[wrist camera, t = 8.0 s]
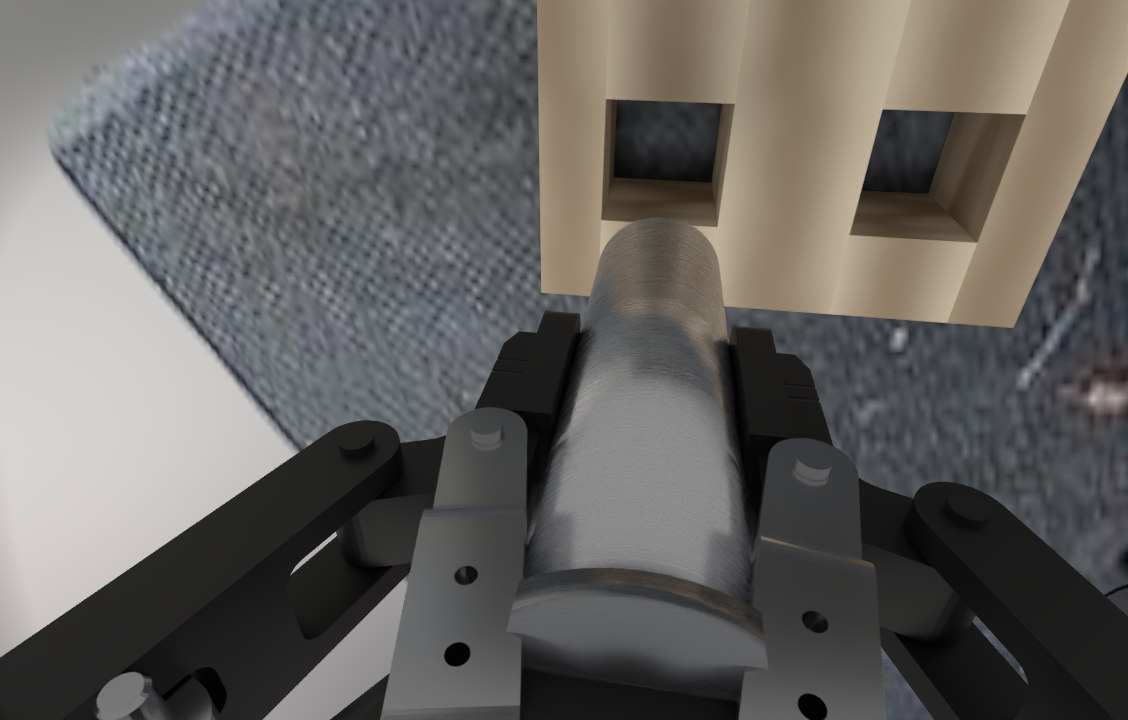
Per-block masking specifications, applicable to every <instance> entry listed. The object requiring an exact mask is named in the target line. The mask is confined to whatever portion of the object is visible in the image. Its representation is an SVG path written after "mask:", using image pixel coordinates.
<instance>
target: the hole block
mask: <svg viewBox="0 0 1128 720" xmlns="http://www.w3.org/2000/svg"><path fill="white" fill-rule="evenodd" d="M537 32H538V97H539V162H540V227H541V292H542V293H555V294H568V295H582V296H590V294H591V290H592V286H593V283H594V279H595V275H596V271H597V267H598V264H599V260H600V256H601V254H602V251H603V249H604V248H605V246H606V244H607V243H608V241H609V240H610V239H611V238H612V237H613V236H614V235H615V234H616V233H617V232H618V231H619V230H621V229H622V228H623V227H625V226H627V225H629V224H630V223H633V222H635V221H638V220H641V219H645V218H652V217H667V218H673V219H677V220H681V221H683V222H686V223H688V224H690V225H691V226H693V227H695V228H696V229H698V230H699V231H700V232H701V233H702V234H703V235H704V236H705V237H706V238H707V239H708V240H709V241H710V243H711V244H712V246H713V248H714V250H715V252H716V254H717V257H718V261H719V267H720V275H721V284H722V292H723V301H724V306H728V307H741V308H755V309H768V310H781V311H794V312H808V313H821V314H834V315H848V316H861V317H874V318H888V319H901V320H914V321H927V322H941V323H954V324H967V325H981V326H994V327H1007V328H1013V327H1014V325H1015V323H1016V321H1017V318H1018V316H1019V314H1020V312H1021V309H1022V307H1023V305H1024V303H1025V301H1026V298H1027V296H1028V294H1029V292H1030V289H1031V287H1032V285H1033V283H1034V280H1035V278H1036V276H1037V274H1038V271H1039V269H1040V267H1041V265H1042V263H1043V260H1044V258H1045V256H1046V254H1047V251H1048V249H1049V247H1050V245H1051V242H1052V240H1053V238H1054V236H1055V234H1056V231H1057V229H1058V227H1059V225H1060V222H1061V220H1062V218H1063V216H1064V213H1065V211H1066V209H1067V207H1068V204H1069V202H1070V200H1071V198H1072V196H1073V193H1074V191H1075V189H1076V187H1077V184H1078V182H1079V180H1080V178H1081V175H1082V173H1083V171H1084V169H1085V167H1086V164H1087V162H1088V160H1089V158H1090V155H1091V153H1092V151H1093V149H1094V146H1095V144H1096V142H1097V140H1098V138H1099V135H1100V133H1101V131H1102V129H1103V126H1104V124H1105V122H1106V120H1107V117H1108V115H1109V113H1110V111H1111V108H1112V106H1113V104H1114V102H1115V100H1116V97H1117V95H1118V93H1119V91H1120V88H1121V86H1122V84H1123V82H1124V79H1125V77H1126V75H1127V73H1128V0H537ZM617 100H643V101H671V102H698V103H722V108H721V115H720V123H719V130H718V138H717V146H716V153H715V161H714V168H713V176H712V183H710V182H691V181H671V180H652V179H632V178H614V160H615V139H616V118H617ZM883 109H891V110H918V111H946V112H954V115H953V118H952V121H951V125H950V128H949V131H948V134H947V137H946V140H945V143H944V146H943V149H942V152H941V156H940V159H939V162H938V165H937V168H936V171H935V174H934V177H933V180H932V184H931V187H930V190H929V193H928V194H923V193H904V192H884V191H865V190H861V189H862V186H863V182H864V178H865V174H866V170H867V167H868V163H869V159H870V155H871V151H872V148H873V144H874V140H875V136H876V132H877V129H878V125H879V121H880V117H881V113H882V110H883Z"/></svg>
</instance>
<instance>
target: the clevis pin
mask: <svg viewBox="0 0 1128 720" xmlns="http://www.w3.org/2000/svg"><path fill="white" fill-rule="evenodd" d="M752 557H753V544H752V535H751V527H750V518H749V510H748V502H747V493H746V485H745V477H744V468H743V460H742V452H741V444H740V435H739V427H738V418H737V410H736V402H735V393H734V385H733V377H732V368H731V360H730V351H729V342H728V334H727V326H726V317H725V309H724V301H723V292H722V284H721V275H720V267H719V261H718V257H717V254H716V252H715V250H714V248H713V246H712V244H711V243H710V241H709V240H708V239H707V238H706V237H705V236H704V235H703V234H702V233H701V232H700V231H699V230H698V229H696V228H695V227H693V226H691V225H690V224H688V223H686V222H683V221H681V220H677V219H673V218H667V217H652V218H645V219H641V220H638V221H635V222H633V223H630V224H629V225H627V226H625V227H623V228H622V229H621V230H619V231H618V232H617V233H616V234H615V235H614V236H613V237H612V238H611V239H610V240H609V241H608V243H607V244H606V246H605V248H604V249H603V251H602V254H601V256H600V260H599V264H598V267H597V271H596V275H595V279H594V283H593V286H592V290H591V294H590V298H589V302H588V305H587V309H586V313H585V317H584V321H583V324H582V328H581V332H580V336H579V340H578V344H577V347H576V351H575V355H574V359H573V363H572V366H571V370H570V374H569V378H568V382H567V386H566V389H565V393H564V397H563V401H562V405H561V408H560V412H559V416H558V420H557V424H556V427H555V431H554V435H553V439H552V443H551V446H550V450H549V454H548V457H547V461H546V465H545V469H544V473H543V477H542V480H541V484H540V488H539V492H538V496H537V499H536V503H535V507H534V511H533V515H532V518H531V522H530V526H529V530H528V534H527V554H526V579H523V580H520V581H519V583H518V587H517V591H516V595H515V599H514V603H513V607H512V611H511V614H510V618H509V622H508V626H507V630H506V632H513V633H520V634H522V652H523V669H524V670H531V671H537V672H544V673H551V674H557V675H564V676H571V677H577V678H584V679H590V680H597V681H604V682H610V683H617V684H623V685H630V686H637V687H643V688H650V689H657V690H663V691H670V692H676V693H683V694H690V695H696V696H703V697H709V698H716V699H723V700H729V701H736V700H737V694H738V691H739V687H740V683H741V680H742V676H743V672H744V669H745V666H749V667H756V668H763V669H768V662H767V653H766V645H765V637H764V629H763V621H762V613H761V612H759V611H757V610H756V609H754V608H752V607H751V606H749V605H748V595H749V585H750V575H751V563H752Z"/></svg>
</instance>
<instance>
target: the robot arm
mask: <svg viewBox="0 0 1128 720" xmlns="http://www.w3.org/2000/svg"><path fill="white" fill-rule="evenodd" d="M579 336H580V314H579V313H567V312H554V311H545V313H544V315H543V318H542V321H541V323H540V326H539V329H538V331H537V333H532V332H520V331H519V332H518V333H517V334H515V335H514V336H513V337H512V338H510V339H509V340H508V341H506V342H505V343H504V345H503V347H502V349H501V351H500V354H499V356H498V360H496V363H495V365H494V367H493V370H492V372H491V374H490V376H489V378H488V380H487V383H486V385H485V387H484V389H483V392H482V394H481V396H480V398H479V401H478V403H477V405H476V407H475V409H474V410H471V411H468V412H466V413H464V414H462V415H460V416H459V417H457V418H456V419H455V420H454V421H453V422H452V423H451V424H450V426H449V427H448V430H447V434H446V435H445V436H443V437H439V438H435V439H429V440H422V441H414V442H405V443H400V439H399V435H398V433H397V432H396V430H395V429H394V428H393V427H391V426H390V425H388V424H385V423H383V422H378V421H370V420H366V421H356V422H351V423H347V424H344V425H341V426H339V427H337V428H335V429H333V430H331V431H330V432H328V433H327V434H325V435H324V436H322V437H321V438H319V439H318V440H317V441H315V442H314V443H312V444H311V445H309V446H308V447H306V448H305V449H303V450H302V451H301V452H299V453H298V454H296V455H295V456H293V457H292V458H290V459H289V460H287V461H286V462H285V463H283V464H282V465H280V466H279V467H277V468H276V469H274V470H273V471H271V472H270V473H268V474H267V475H266V476H264V477H263V478H261V479H260V480H258V481H257V482H255V483H254V484H252V485H251V486H250V487H248V488H247V489H245V490H244V491H242V492H241V493H239V494H238V495H236V496H235V497H234V498H232V499H231V500H229V501H228V502H226V503H225V504H224V505H222V506H220V507H219V508H218V509H216V510H215V511H213V512H212V513H210V514H209V515H207V516H206V517H205V518H203V519H202V520H200V521H199V522H197V523H196V524H194V525H193V526H191V527H190V528H188V529H187V530H185V531H184V532H183V533H181V534H180V535H178V536H177V537H175V538H174V539H172V540H171V541H169V542H168V543H167V544H165V545H164V546H162V547H161V548H159V549H158V550H156V551H155V552H153V553H152V554H150V555H149V556H148V557H146V558H145V559H143V560H142V561H140V562H139V563H137V564H136V565H134V566H133V567H132V568H130V569H129V570H127V571H126V572H124V573H123V574H121V575H120V576H119V577H117V578H116V579H114V580H113V581H111V582H110V583H109V584H107V585H105V586H104V587H102V588H101V589H100V590H98V591H97V592H95V593H94V594H92V595H91V596H89V597H88V598H86V599H85V600H83V601H82V602H81V603H79V604H78V605H76V606H75V607H73V608H72V609H70V610H69V611H68V612H66V613H65V614H63V615H62V616H60V617H59V618H57V619H56V620H54V621H53V622H51V623H50V624H49V625H47V626H46V627H44V628H43V629H41V630H40V631H39V632H37V633H36V634H34V635H32V636H31V637H30V638H28V639H27V640H25V641H24V642H22V643H21V644H20V645H18V646H16V647H15V648H14V649H12V650H11V651H9V652H8V653H6V654H5V655H3V656H2V657H0V720H263V719H264V718H265V717H266V715H268V714H269V713H270V712H271V710H273V709H274V708H275V707H276V706H277V705H278V704H279V703H280V702H281V701H282V699H284V697H286V696H287V695H288V694H289V693H290V691H292V690H293V689H294V688H295V686H296V685H298V684H299V683H300V681H302V680H303V679H304V678H305V677H306V676H307V675H308V673H310V672H311V671H312V670H313V669H314V668H315V666H316V665H317V664H319V663H320V662H321V661H322V660H323V659H324V658H325V657H326V655H327V654H328V653H330V652H331V651H332V649H334V648H335V647H336V646H337V644H338V643H340V642H341V641H342V640H343V639H344V637H346V636H347V634H349V632H350V631H351V630H352V629H354V628H355V627H356V625H358V623H360V621H362V620H363V619H364V618H365V617H366V616H367V615H368V613H370V611H372V609H374V607H376V606H377V605H378V603H380V601H382V600H383V598H385V596H386V595H387V594H389V593H390V591H391V590H393V589H394V587H396V586H397V584H399V582H401V581H402V580H403V579H404V578H405V576H406V575H407V574H408V573H409V572H410V575H409V580H408V585H407V590H406V595H405V600H404V605H403V610H402V615H401V620H400V625H399V630H398V635H397V640H396V645H395V650H394V655H393V660H392V665H391V669H390V673H389V674H388V675H387V676H385V677H384V678H383V679H382V680H380V681H379V682H378V683H376V684H375V685H374V686H373V687H371V688H370V689H369V690H367V691H366V692H365V693H364V694H362V695H361V696H360V697H359V698H357V699H356V700H355V701H353V702H352V703H351V704H350V705H348V706H347V707H346V708H344V709H343V710H342V711H341V712H339V713H338V714H337V715H336V716H334V717H333V718H332V719H330V720H886V716H885V701H884V685H883V670H882V655H881V647H882V648H883V650H884V651H885V652H886V654H887V655H888V657H889V658H890V659H891V661H892V662H893V663H894V665H895V666H896V668H897V669H898V670H899V672H900V673H901V674H902V676H903V677H904V679H905V680H906V681H907V683H908V684H909V685H910V687H911V688H912V690H913V691H914V692H915V694H916V695H917V696H918V698H919V699H920V701H921V702H922V703H923V705H924V706H925V708H926V709H927V710H928V712H929V713H930V714H931V716H932V717H933V719H934V720H1128V588H1125V589H1123V590H1120V591H1117V592H1116V593H1114V594H1112V595H1110V596H1108V597H1106V596H1105V595H1103V594H1102V593H1101V592H1100V591H1099V590H1098V589H1097V588H1096V587H1094V586H1093V585H1092V584H1091V583H1090V582H1089V581H1088V580H1087V579H1085V578H1084V577H1083V576H1082V575H1081V574H1080V573H1079V572H1078V571H1076V570H1075V569H1074V568H1073V567H1072V566H1071V565H1070V564H1068V563H1067V562H1066V561H1065V560H1064V559H1063V558H1062V557H1061V556H1059V555H1058V554H1057V553H1056V552H1055V551H1054V550H1053V549H1052V548H1050V547H1049V546H1048V545H1047V544H1046V543H1045V542H1044V541H1043V540H1041V539H1040V538H1039V537H1038V536H1037V535H1036V534H1035V533H1034V532H1032V531H1031V530H1030V529H1029V528H1028V527H1027V526H1026V525H1025V524H1023V523H1022V522H1021V521H1020V520H1019V519H1018V518H1017V517H1016V516H1014V515H1013V514H1012V513H1011V512H1010V511H1009V510H1008V509H1007V508H1005V507H1004V506H1003V505H1002V504H1001V503H999V502H998V501H997V500H995V499H994V498H992V497H991V496H989V495H987V494H985V493H983V492H981V491H979V490H977V489H974V488H972V487H969V486H966V485H962V484H957V483H951V482H934V483H929V484H926V485H924V486H922V487H921V488H920V489H919V490H918V491H917V492H916V494H915V496H914V499H912V498H909V497H906V496H903V495H900V494H897V493H894V492H890V491H887V490H884V489H881V488H879V487H876V486H873V485H871V484H869V483H867V482H865V481H863V480H862V479H860V478H859V477H858V471H857V468H856V466H855V464H854V463H853V462H852V460H851V459H850V458H849V457H848V456H847V455H846V454H844V453H843V452H842V451H840V450H839V449H837V448H835V447H833V444H832V440H831V437H830V434H829V430H828V427H827V424H826V421H825V417H824V414H823V411H822V407H821V404H820V403H819V398H818V394H817V391H816V389H815V384H814V381H813V378H812V374H811V371H810V369H809V368H808V367H807V366H806V365H805V364H804V363H803V362H802V361H801V360H800V359H799V358H798V357H797V356H796V355H792V354H780V353H776V349H775V345H774V340H773V336H772V332H771V329H766V328H754V327H741V326H733V328H732V331H731V336H730V341H729V351H730V360H731V368H732V377H733V385H734V393H735V402H736V410H737V418H738V427H739V435H740V444H741V452H742V460H743V468H744V477H745V485H746V493H747V502H748V510H749V518H750V527H751V535H752V544H753V557H752V563H751V575H750V585H749V595H748V605H749V606H751V607H752V608H754V609H756V610H757V611H759V612H761V613H762V621H763V629H764V637H765V645H766V653H767V662H768V669H763V668H756V667H749V666H745V669H744V672H743V676H742V680H741V683H740V687H739V691H738V694H737V700H736V701H729V700H723V699H716V698H709V697H703V696H696V695H690V694H683V693H676V692H670V691H663V690H657V689H650V688H643V687H637V686H630V685H623V684H617V683H610V682H604V681H597V680H590V679H584V678H577V677H571V676H564V675H557V674H551V673H544V672H537V671H531V670H524V669H523V652H522V634H520V633H513V632H506V630H507V626H508V622H509V618H510V614H511V611H512V607H513V603H514V599H515V595H516V591H517V587H518V583H519V581H520V580H523V579H526V554H527V534H528V530H529V526H530V522H531V518H532V515H533V511H534V507H535V503H536V499H537V496H538V492H539V488H540V484H541V480H542V477H543V473H544V469H545V465H546V461H547V457H548V454H549V450H550V446H551V443H552V439H553V435H554V431H555V427H556V424H557V420H558V416H559V412H560V408H561V405H562V401H563V397H564V393H565V389H566V386H567V382H568V378H569V374H570V370H571V366H572V363H573V359H574V355H575V351H576V347H577V344H578V340H579ZM334 532H336V533H337V536H336V537H335V538H334V539H333V540H332V541H331V542H329V543H328V544H327V545H326V546H325V547H323V548H322V549H321V550H320V551H319V552H318V553H316V554H315V555H314V556H313V557H312V558H310V559H309V560H308V561H307V562H306V563H305V564H303V565H302V566H301V567H300V568H299V569H297V570H296V571H295V572H294V573H293V574H292V575H290V574H291V573H292V571H293V569H294V568H295V566H296V565H297V564H298V563H299V562H300V561H301V560H302V559H303V558H304V557H305V556H307V555H308V554H309V553H310V552H312V551H313V550H314V549H315V548H316V547H318V546H319V545H320V544H321V543H322V542H323V541H325V540H326V539H327V538H328V537H330V536H331V535H332V534H333V533H334ZM976 615H977V617H978V618H979V619H980V620H981V621H982V622H983V623H984V624H985V625H986V627H987V628H988V629H989V630H990V631H991V632H992V633H993V634H994V635H995V637H996V638H997V639H998V640H999V641H1000V642H1001V643H1002V644H1003V645H1004V647H1005V648H1006V649H1007V650H1008V651H1009V652H1010V653H1011V654H1012V655H1013V657H1014V658H1015V659H1016V660H1017V661H1018V663H1019V664H1020V666H1021V667H1022V669H1023V671H1024V673H1025V675H1026V677H1027V680H1028V684H1029V685H1028V684H1027V683H1026V682H1025V681H1024V680H1023V679H1022V678H1021V676H1020V675H1019V674H1018V673H1017V672H1016V671H1015V670H1014V669H1013V667H1012V666H1011V665H1010V664H1009V663H1008V662H1007V661H1006V659H1005V658H1004V657H1003V656H1002V655H1001V654H1000V653H999V652H998V650H997V649H996V648H995V647H994V646H993V645H992V644H991V643H990V641H989V640H988V639H987V638H986V637H985V636H984V635H983V634H982V632H981V631H980V630H979V629H978V628H977V627H976V626H975V625H974V623H973V622H972V621H973V619H974V617H975V616H976Z"/></svg>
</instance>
